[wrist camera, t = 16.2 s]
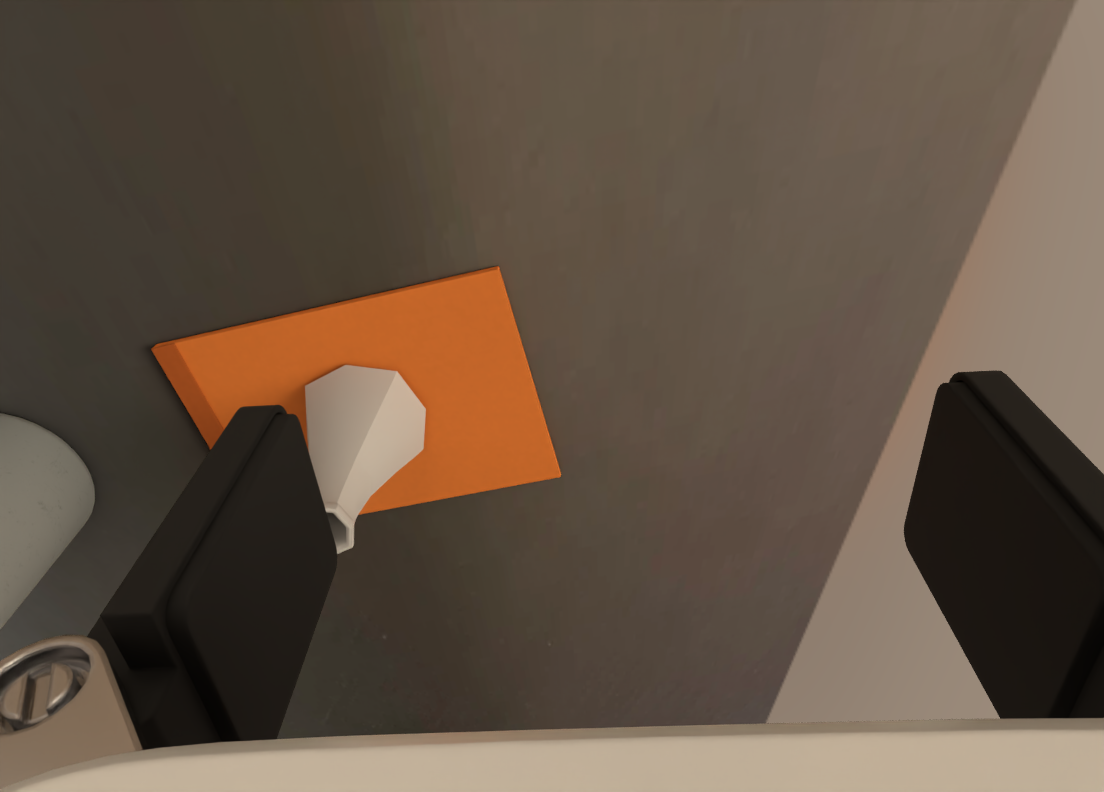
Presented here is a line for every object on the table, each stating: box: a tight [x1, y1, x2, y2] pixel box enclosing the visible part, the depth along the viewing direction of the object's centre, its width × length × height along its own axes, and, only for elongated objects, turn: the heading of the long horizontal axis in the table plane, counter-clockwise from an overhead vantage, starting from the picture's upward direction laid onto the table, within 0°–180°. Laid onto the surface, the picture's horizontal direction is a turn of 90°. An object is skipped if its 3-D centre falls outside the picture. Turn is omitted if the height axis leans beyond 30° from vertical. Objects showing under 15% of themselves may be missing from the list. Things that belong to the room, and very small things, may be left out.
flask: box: [305, 365, 426, 554], centre depth 40 cm, size 7×7×10 cm
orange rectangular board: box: [151, 266, 561, 515], centre depth 44 cm, size 14×20×1 cm
